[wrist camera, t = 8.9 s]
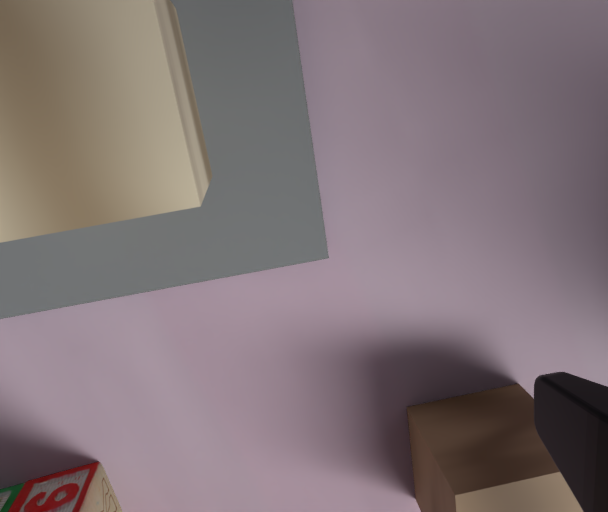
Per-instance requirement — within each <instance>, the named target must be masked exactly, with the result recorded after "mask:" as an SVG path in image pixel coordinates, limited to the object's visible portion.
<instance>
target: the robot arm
mask: <svg viewBox="0 0 608 512" xmlns="http://www.w3.org/2000/svg"><path fill="white" fill-rule="evenodd" d="M534 424H535V428H536V431H537V433H538V435H539V437H540V439H541V441H542V442H543V444H544V446H545V447H546V449H547V451H548V452H549V454H550V456H551V457H552V459H553V461H554V463H555V464H556V466H557V468H558V469H559V471H560V473H561V474H562V476H563V478H564V479H565V481H566V483H567V485H568V486H569V488H570V490H571V491H572V493H573V495H574V496H575V498H576V500H577V502H578V503H579V505H580V507H581V508H582V510H583V512H608V387H607V386H604V385H601V384H598V383H595V382H592V381H589V380H586V379H583V378H580V377H577V376H574V375H572V374H569V373H566V372H556V373H550V374H545V375H540V376H538V377H537V378H536V380H535V384H534Z"/></svg>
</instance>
